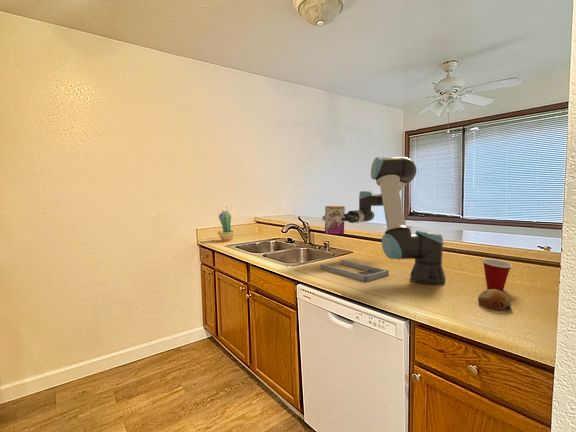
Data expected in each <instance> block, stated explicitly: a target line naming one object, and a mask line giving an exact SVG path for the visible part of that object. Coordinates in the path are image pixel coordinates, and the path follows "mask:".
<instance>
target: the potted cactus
mask: <svg viewBox="0 0 576 432" xmlns="http://www.w3.org/2000/svg"><path fill="white" fill-rule="evenodd" d="M218 220H219V221H220V224H221V227H222V230H219V231H217V235H218V236H219V238H220V240H221V242H222V243H228V242H233V239H234V237H235V234H236V232H237V231H236V230H231V229H232V227H231V224H232V223H231V222H232V215H231V213H230V212H229V211H227V210H224V211H221V212H220V214H219V216H218Z"/></svg>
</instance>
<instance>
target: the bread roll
mask: <svg viewBox="0 0 576 432" xmlns="http://www.w3.org/2000/svg"><path fill="white" fill-rule="evenodd" d="M477 302H478V304H479V305H480V306H481V307H483V308H485V309H488V310H490V311H491V310H492V311H496V312H506V311H509V310H511V307H512V301H511V299H510V297H508V295H507V294H506V293H504V291H499V290H496V289H490V290H489V289H486V290H483V291H482V292H481V293H480V294H479V295H478V298H477Z"/></svg>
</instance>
